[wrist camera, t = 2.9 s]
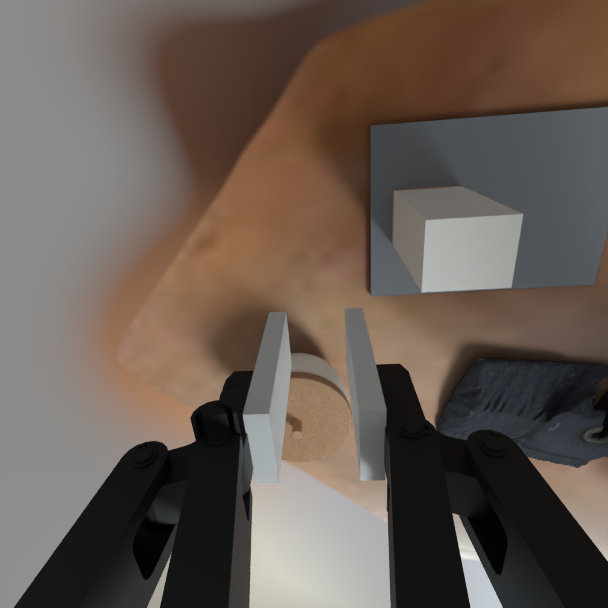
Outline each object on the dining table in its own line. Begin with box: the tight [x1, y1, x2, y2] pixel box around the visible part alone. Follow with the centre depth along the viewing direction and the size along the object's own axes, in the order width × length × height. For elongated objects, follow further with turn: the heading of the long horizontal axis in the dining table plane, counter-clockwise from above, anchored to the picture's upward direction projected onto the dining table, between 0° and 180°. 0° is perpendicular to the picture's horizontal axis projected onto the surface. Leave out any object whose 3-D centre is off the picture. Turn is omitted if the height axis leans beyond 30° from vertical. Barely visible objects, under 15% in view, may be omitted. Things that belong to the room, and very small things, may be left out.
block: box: [392, 185, 523, 293], centre depth 31 cm, size 5×6×12 cm
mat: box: [370, 107, 608, 296], centre depth 36 cm, size 16×22×1 cm
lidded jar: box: [281, 353, 352, 462], centre depth 41 cm, size 11×11×9 cm
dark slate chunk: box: [437, 358, 608, 468], centre depth 44 cm, size 15×22×5 cm
